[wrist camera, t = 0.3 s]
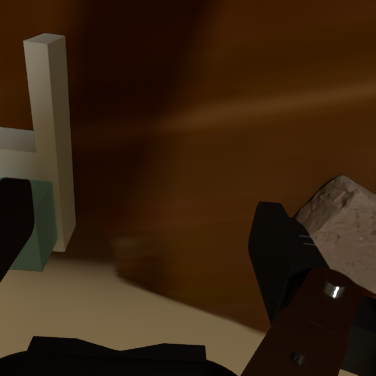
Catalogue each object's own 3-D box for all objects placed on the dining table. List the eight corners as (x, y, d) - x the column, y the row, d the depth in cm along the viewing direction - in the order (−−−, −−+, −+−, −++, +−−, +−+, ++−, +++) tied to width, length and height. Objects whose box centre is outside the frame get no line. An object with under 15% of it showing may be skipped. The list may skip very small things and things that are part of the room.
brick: (445, 235, 37) (477, 265, 33) (385, 281, 40) (407, 314, 36) (335, 165, 32) (357, 190, 28) (279, 225, 36) (291, 255, 32)
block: (-26, 174, 27) (-56, 202, 23) (52, 181, 27) (34, 210, 24) (-12, 233, 30) (-37, 265, 26) (57, 239, 30) (42, 271, 27)
